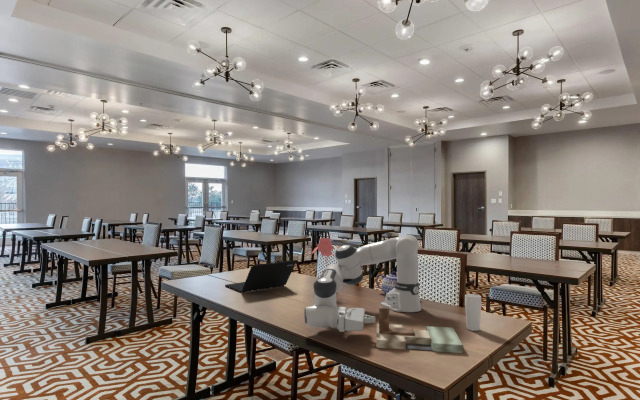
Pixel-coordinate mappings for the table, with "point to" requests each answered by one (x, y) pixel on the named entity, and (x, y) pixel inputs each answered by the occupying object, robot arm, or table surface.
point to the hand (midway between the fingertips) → (375, 319)
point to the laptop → (265, 276)
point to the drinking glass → (473, 311)
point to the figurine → (325, 248)
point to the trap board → (422, 340)
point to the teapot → (387, 282)
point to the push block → (384, 324)
